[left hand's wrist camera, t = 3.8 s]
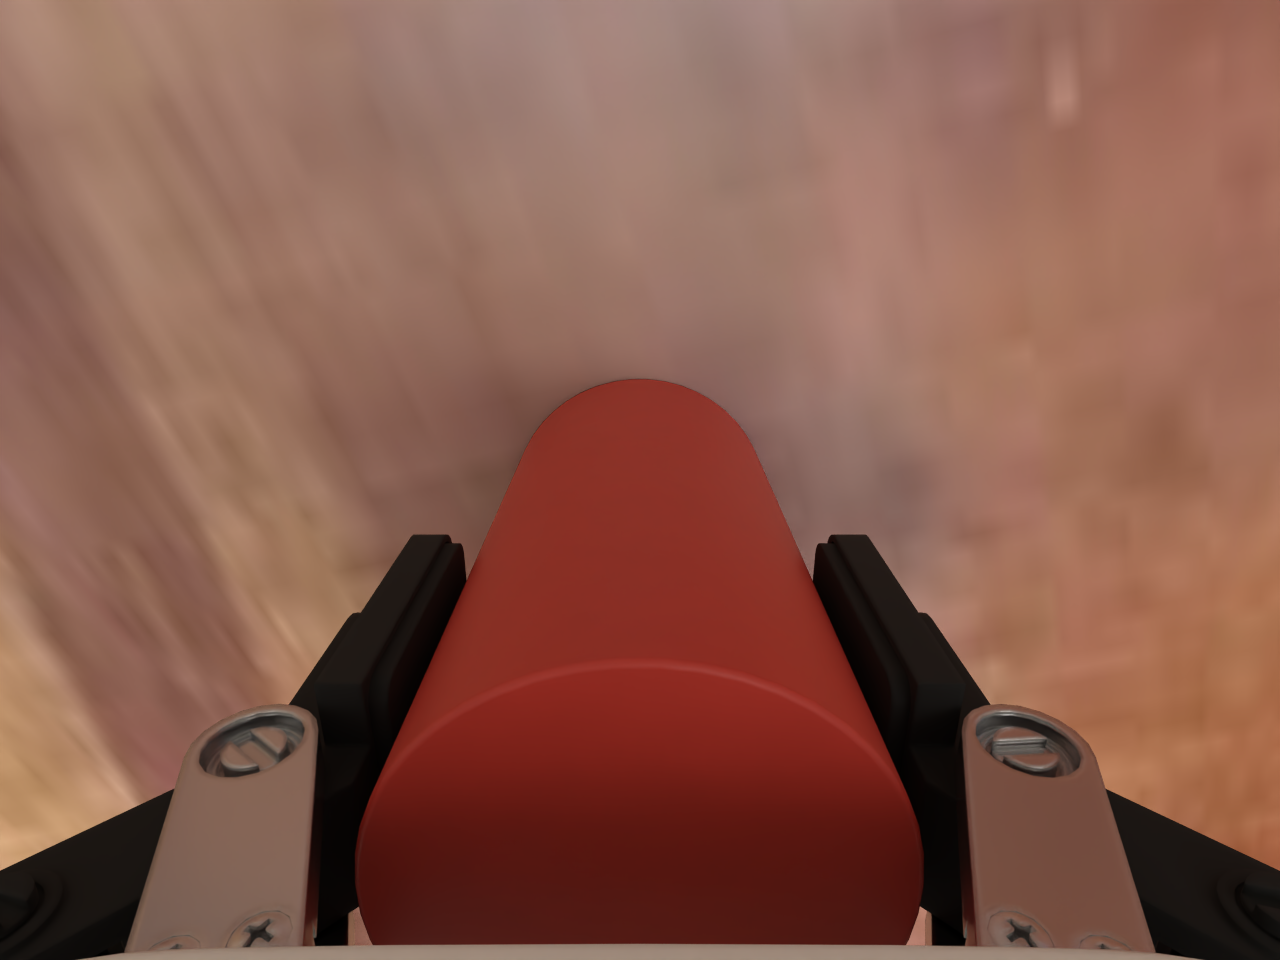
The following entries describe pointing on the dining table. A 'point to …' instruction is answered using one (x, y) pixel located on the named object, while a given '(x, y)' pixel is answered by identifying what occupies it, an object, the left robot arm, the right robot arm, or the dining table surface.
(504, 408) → the dining table surface
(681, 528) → the canister
